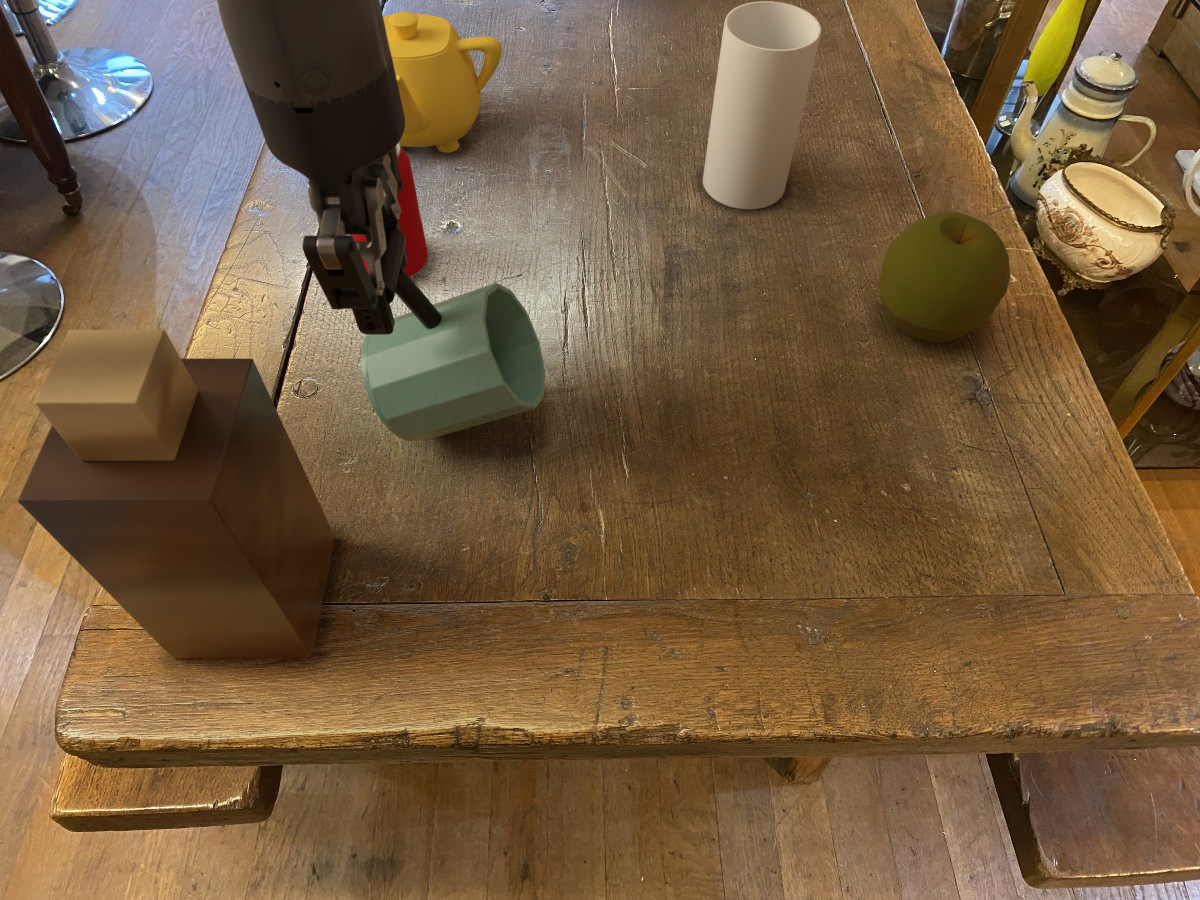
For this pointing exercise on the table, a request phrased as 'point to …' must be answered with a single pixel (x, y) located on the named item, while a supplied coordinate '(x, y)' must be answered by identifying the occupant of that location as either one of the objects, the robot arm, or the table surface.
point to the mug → (450, 357)
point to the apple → (943, 276)
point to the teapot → (437, 78)
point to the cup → (758, 102)
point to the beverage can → (408, 218)
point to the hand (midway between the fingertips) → (385, 296)
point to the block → (119, 395)
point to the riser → (200, 526)
